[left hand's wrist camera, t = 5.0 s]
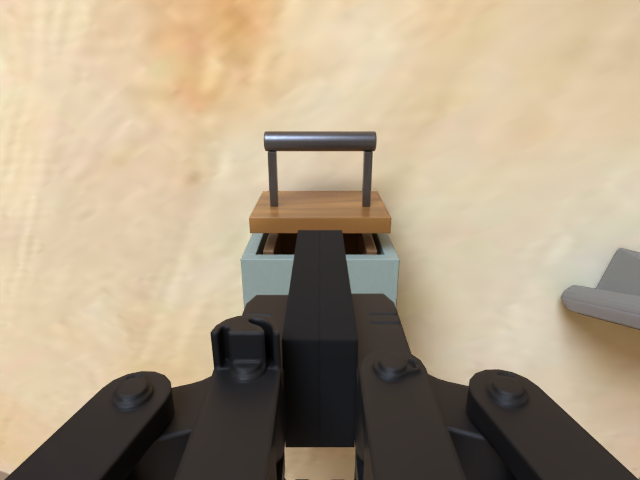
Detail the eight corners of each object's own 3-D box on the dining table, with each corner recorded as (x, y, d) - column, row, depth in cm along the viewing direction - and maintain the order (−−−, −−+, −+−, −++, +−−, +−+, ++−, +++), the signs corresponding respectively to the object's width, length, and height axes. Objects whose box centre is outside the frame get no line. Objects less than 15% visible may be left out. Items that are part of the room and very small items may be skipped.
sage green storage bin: (259, 218, 39) (240, 259, 30) (381, 218, 39) (399, 259, 30) (266, 363, 45) (252, 434, 36) (373, 363, 45) (387, 434, 36)
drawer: (259, 125, 35) (244, 136, 28) (380, 125, 35) (396, 136, 28) (269, 335, 42) (259, 387, 35) (370, 335, 42) (380, 388, 35)
